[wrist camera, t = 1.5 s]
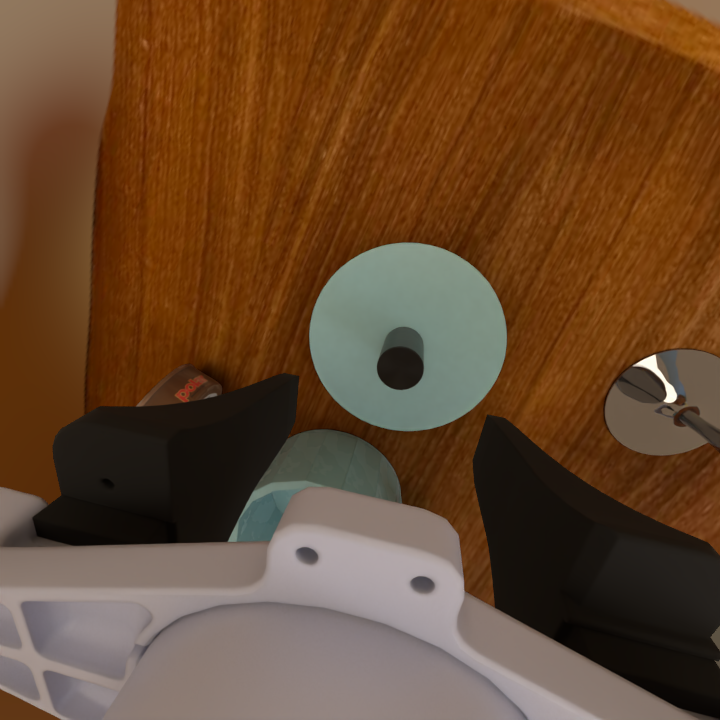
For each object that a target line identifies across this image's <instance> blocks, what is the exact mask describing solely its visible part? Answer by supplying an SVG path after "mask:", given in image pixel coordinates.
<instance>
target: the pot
mask: <svg viewBox="0 0 720 720" xmlns="http://www.w3.org/2000/svg"><path fill="white" fill-rule="evenodd" d="M307 487H332V488H336V489H340V490H345V491H349V492H353V493H357V494H362V495H366V496H370V497H375V498H379V499H383V500H388V501H392V502H396V503H400V504H402V499H401V490H400V484H399V480H398V478H397V475H396V473H395V471H394V469H393V467H392V466H391V464H390V463H389V461H388V460H387V459H386V458H385V456H384V455H383V454H381V453H380V452H379V451H378V450H377V449H376V448H375V447H373V446H372V445H371V444H369V443H368V442H366V441H364V440H363V439H360V438H358V437H356V436H354V435H351V434H348V433H345V432H341V431H336V430H327V429H321V430H310V431H305V432H302V433H299V434H296V435H294V436H292V437H290V438H288V439H287V440H286V442H285V443H284V445H283V447H282V448H281V450H280V451H279V453H278V454H277V456H276V457H275V459H274V460H273V462H272V463H271V465H270V466H269V468H268V469H267V471H266V472H265V474H264V475H263V477H262V478H261V480H260V481H259V483H258V484H257V486H256V487H255V489H254V491H253V492H252V494H251V496H250V498H249V500H248V502H247V504H246V506H245V508H244V510H243V512H242V514H241V516H240V518H239V520H238V522H237V524H236V526H235V528H234V530H233V532H232V534H231V536H230V538H229V540H228V542H248V541H271V539H272V537H273V535H274V532H275V530H276V528H277V526H278V524H279V522H280V520H281V518H282V516H283V514H284V511H285V509H286V507H287V505H288V503H289V501H290V499H291V497H292V495H294V494H296V493H298V492H300V491H301V490H303V489H305V488H307ZM436 515H437V514H436Z"/></svg>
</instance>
